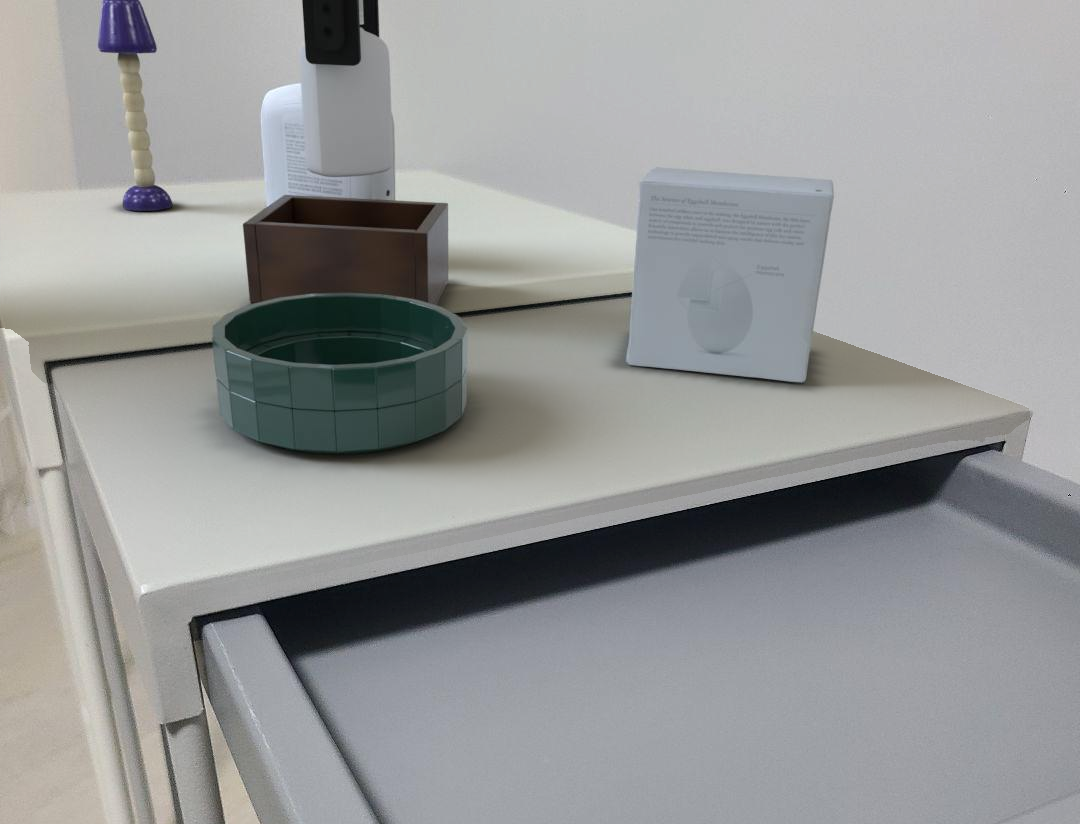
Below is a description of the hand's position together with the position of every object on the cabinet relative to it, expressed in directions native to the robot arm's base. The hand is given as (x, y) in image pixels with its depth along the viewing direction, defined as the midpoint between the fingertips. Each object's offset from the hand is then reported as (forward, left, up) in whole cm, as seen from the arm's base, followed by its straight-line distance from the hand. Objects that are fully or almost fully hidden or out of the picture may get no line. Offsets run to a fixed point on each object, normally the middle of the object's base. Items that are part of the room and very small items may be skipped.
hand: (344, 57), depth 66 cm
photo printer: (-4, +11, -15) cm, 19 cm away
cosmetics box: (+24, -9, -15) cm, 30 cm away
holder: (0, 0, -15) cm, 15 cm away
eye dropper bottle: (0, 0, -7) cm, 7 cm away
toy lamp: (-24, +25, -15) cm, 38 cm away
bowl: (+4, -21, -15) cm, 26 cm away
